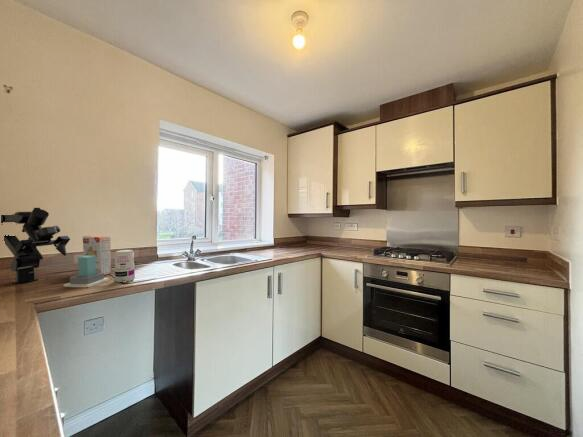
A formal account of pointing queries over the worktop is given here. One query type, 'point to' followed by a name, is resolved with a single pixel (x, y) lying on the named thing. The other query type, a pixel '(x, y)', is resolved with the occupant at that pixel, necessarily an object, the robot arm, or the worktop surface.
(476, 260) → the worktop surface
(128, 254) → the supplement can
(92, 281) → the mounting plate
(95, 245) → the cracker box
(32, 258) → the robot arm
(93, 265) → the peg
